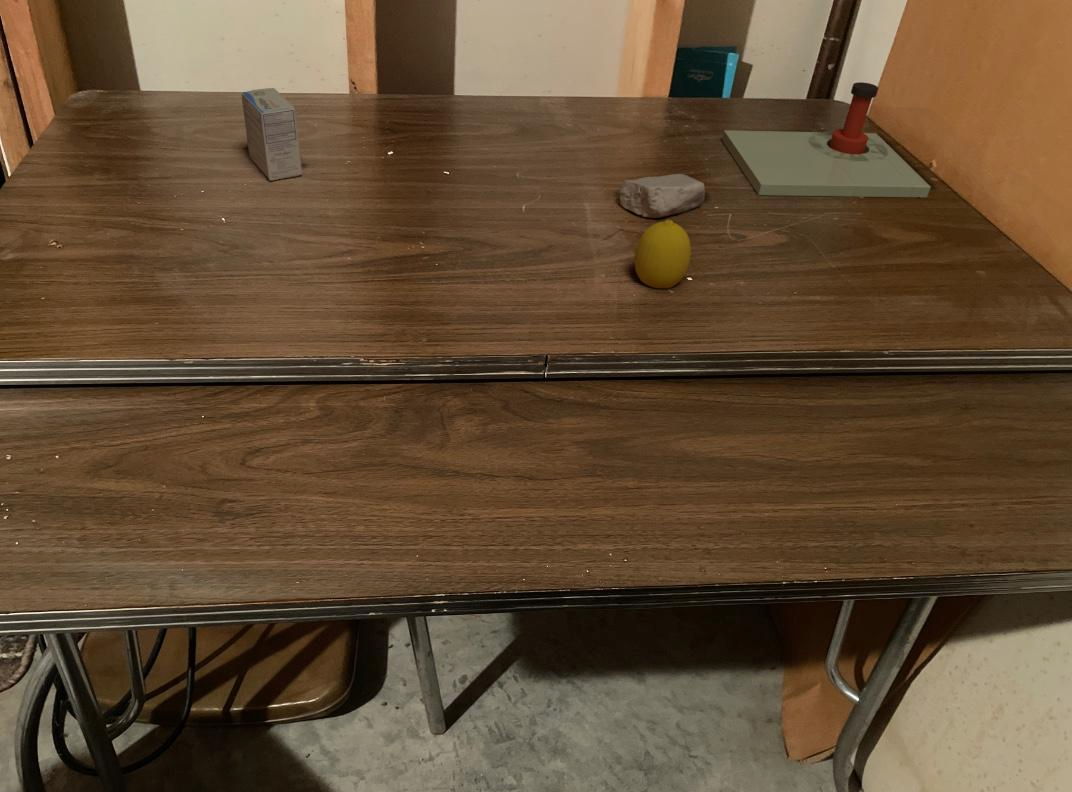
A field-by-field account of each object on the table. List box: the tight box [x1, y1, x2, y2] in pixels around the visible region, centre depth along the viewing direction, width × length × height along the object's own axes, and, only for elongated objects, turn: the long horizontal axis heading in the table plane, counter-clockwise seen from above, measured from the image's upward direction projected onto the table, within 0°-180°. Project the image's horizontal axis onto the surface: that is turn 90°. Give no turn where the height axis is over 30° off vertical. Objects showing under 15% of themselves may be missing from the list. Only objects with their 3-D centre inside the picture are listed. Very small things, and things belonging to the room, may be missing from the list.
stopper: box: [829, 81, 879, 154], centre depth 123 cm, size 5×5×10 cm
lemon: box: [634, 219, 692, 290], centre depth 93 cm, size 6×6×8 cm
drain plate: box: [721, 129, 932, 199], centre depth 122 cm, size 22×18×2 cm
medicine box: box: [241, 87, 303, 182], centre depth 113 cm, size 8×4×9 cm, turn 28°
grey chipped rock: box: [619, 173, 706, 219], centre depth 110 cm, size 10×6×6 cm, turn 109°
